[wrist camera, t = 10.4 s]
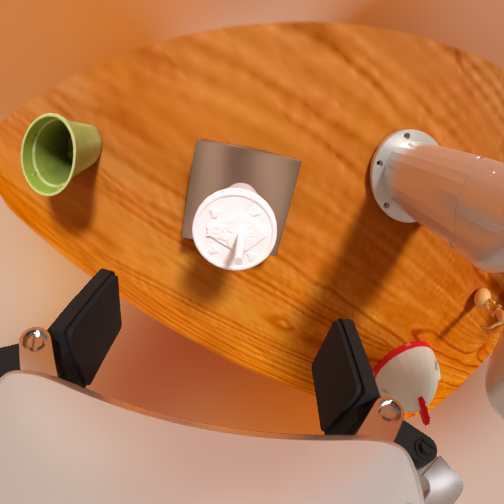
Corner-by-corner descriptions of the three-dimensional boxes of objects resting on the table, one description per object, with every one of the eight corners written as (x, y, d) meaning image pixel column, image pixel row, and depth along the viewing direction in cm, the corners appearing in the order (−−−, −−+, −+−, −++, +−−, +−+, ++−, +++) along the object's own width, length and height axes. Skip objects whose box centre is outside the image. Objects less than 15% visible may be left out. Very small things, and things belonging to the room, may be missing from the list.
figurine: (466, 311, 41) (496, 349, 30) (457, 298, 39) (491, 338, 29) (491, 282, 38) (525, 316, 27) (484, 266, 37) (522, 301, 26)
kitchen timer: (378, 393, 51) (396, 446, 37) (366, 362, 46) (388, 426, 32) (431, 365, 48) (457, 414, 34) (428, 329, 43) (463, 386, 29)
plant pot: (123, 122, 28) (85, 124, 21) (102, 188, 32) (65, 208, 24) (72, 105, 27) (31, 106, 19) (55, 167, 30) (16, 181, 23)
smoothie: (267, 230, 30) (276, 308, 18) (209, 225, 30) (178, 299, 17) (273, 172, 28) (290, 213, 15) (211, 168, 27) (174, 204, 15)
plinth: (295, 158, 31) (301, 162, 27) (273, 242, 35) (275, 256, 32) (203, 139, 30) (196, 140, 26) (189, 225, 34) (181, 237, 31)
